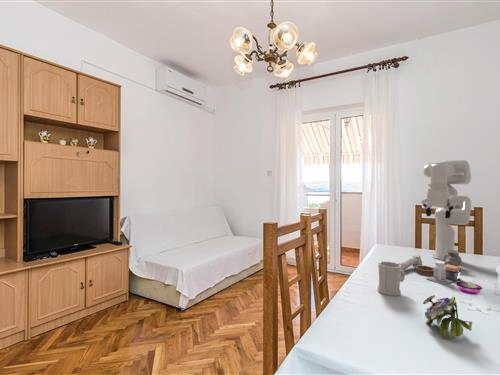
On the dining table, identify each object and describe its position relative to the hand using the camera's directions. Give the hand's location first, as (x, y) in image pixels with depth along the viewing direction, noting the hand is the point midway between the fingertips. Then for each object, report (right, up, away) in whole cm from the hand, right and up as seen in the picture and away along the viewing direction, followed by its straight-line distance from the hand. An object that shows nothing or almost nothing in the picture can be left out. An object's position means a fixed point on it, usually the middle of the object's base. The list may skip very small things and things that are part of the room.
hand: (437, 217), depth 152 cm
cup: (-44, -29, -34) cm, 63 cm away
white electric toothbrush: (-17, -29, -2) cm, 33 cm away
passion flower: (-42, -30, -65) cm, 83 cm away
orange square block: (-5, -28, -17) cm, 33 cm away
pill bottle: (-13, -28, -20) cm, 37 cm away
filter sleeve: (-12, -28, -8) cm, 32 cm away
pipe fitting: (+7, -29, -1) cm, 29 cm away
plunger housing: (-5, -29, -17) cm, 34 cm away
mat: (-13, -29, -20) cm, 37 cm away
